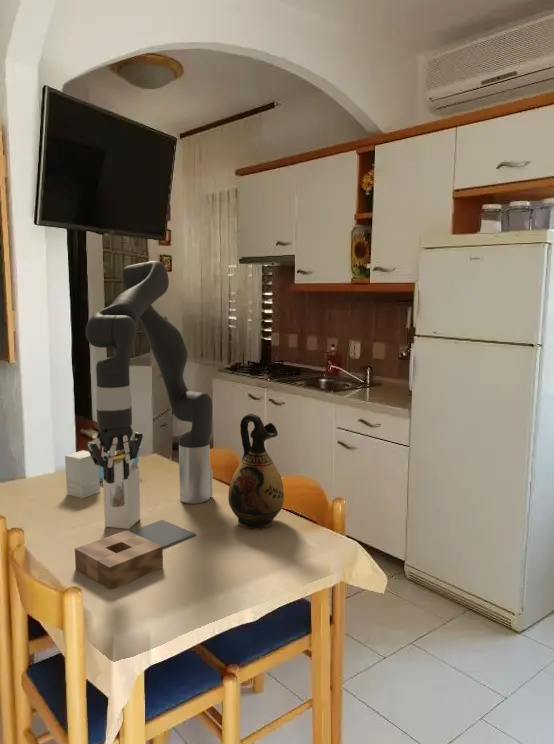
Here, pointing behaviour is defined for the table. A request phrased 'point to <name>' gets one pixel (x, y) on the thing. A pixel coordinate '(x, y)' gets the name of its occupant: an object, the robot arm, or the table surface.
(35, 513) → the table surface
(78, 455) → the supplement box
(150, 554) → the walnut block
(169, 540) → the rubber mat
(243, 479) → the ceramic jug
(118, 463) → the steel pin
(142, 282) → the robot arm
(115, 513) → the milk carton
